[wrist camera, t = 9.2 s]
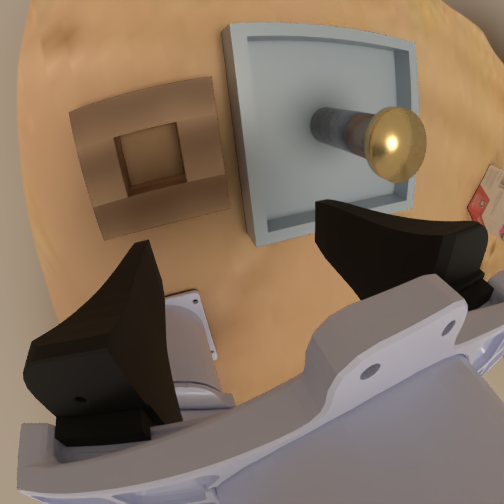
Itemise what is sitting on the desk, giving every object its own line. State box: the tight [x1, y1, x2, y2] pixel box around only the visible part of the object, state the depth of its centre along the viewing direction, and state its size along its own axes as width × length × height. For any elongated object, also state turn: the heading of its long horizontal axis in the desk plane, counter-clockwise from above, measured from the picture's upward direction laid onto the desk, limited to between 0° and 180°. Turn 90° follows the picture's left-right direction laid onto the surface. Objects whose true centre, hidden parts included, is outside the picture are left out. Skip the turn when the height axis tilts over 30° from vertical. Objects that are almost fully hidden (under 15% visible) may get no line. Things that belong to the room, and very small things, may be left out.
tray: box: [221, 22, 419, 247], centre depth 21 cm, size 16×16×2 cm
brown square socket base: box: [69, 76, 230, 241], centre depth 18 cm, size 9×9×2 cm
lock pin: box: [310, 106, 426, 183], centre depth 17 cm, size 4×4×8 cm
